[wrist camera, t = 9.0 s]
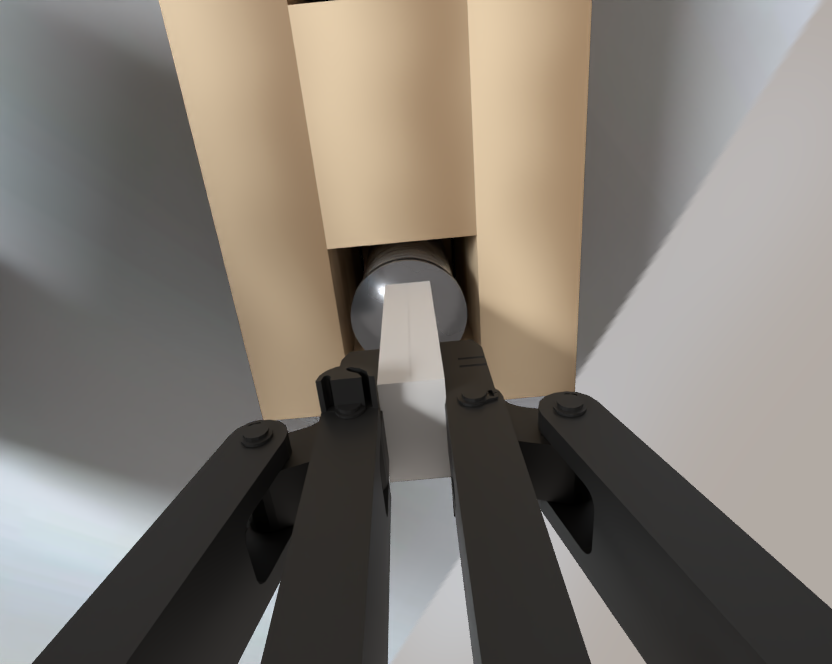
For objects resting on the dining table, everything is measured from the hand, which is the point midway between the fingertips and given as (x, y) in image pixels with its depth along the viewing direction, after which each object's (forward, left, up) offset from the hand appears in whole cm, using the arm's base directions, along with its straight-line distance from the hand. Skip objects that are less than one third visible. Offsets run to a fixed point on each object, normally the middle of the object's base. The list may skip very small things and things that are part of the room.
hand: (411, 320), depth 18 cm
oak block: (0, +6, -11) cm, 12 cm away
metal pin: (0, 0, -9) cm, 9 cm away
